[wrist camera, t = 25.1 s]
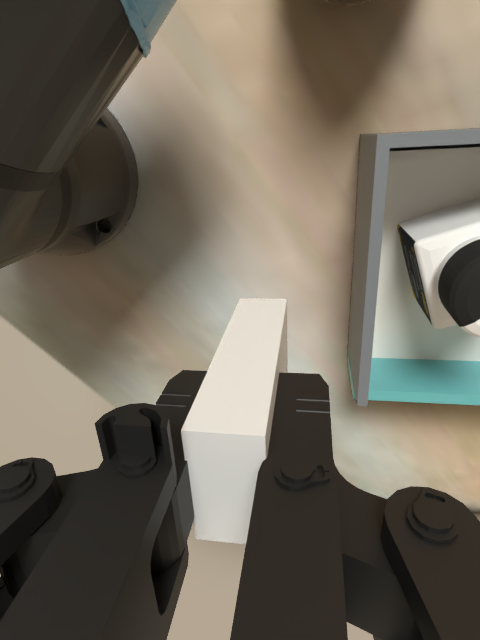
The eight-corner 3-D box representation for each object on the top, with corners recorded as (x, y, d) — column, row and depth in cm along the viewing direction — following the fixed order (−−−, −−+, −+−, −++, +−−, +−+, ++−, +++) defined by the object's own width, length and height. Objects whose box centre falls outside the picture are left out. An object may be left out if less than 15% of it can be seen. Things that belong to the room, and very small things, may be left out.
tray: (347, 359, 42) (353, 399, 36) (359, 151, 34) (370, 155, 28) (511, 365, 40) (549, 408, 33) (566, 141, 32) (628, 143, 26)
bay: (347, 347, 42) (357, 405, 33) (360, 134, 34) (377, 134, 25) (513, 352, 39) (572, 416, 30) (569, 122, 32) (671, 118, 23)
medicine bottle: (395, 223, 35) (432, 262, 24) (486, 193, 33) (571, 221, 22) (413, 298, 37) (454, 364, 27) (500, 274, 35) (582, 336, 25)
